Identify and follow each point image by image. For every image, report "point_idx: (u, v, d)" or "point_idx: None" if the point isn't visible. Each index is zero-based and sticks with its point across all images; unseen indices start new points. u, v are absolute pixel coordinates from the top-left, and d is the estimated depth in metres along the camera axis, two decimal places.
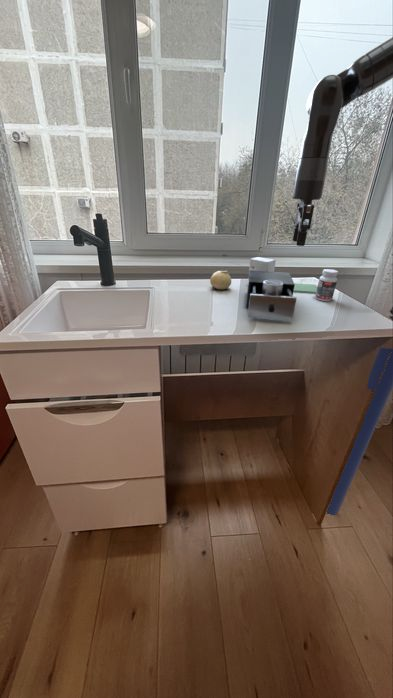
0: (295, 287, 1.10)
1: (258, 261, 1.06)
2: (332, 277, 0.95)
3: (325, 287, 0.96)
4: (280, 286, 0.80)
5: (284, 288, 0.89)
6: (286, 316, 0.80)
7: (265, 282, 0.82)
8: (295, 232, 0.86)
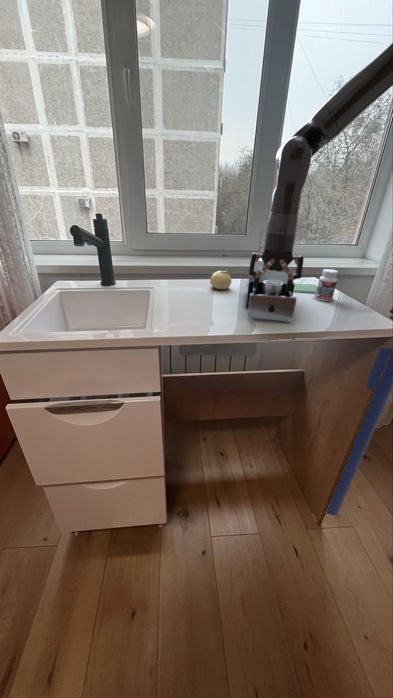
0: (295, 287, 1.10)
1: (258, 261, 1.06)
2: (332, 277, 0.95)
3: (325, 287, 0.96)
4: (280, 286, 0.80)
5: (284, 288, 0.89)
6: (286, 316, 0.80)
7: (265, 282, 0.82)
8: (286, 283, 0.82)
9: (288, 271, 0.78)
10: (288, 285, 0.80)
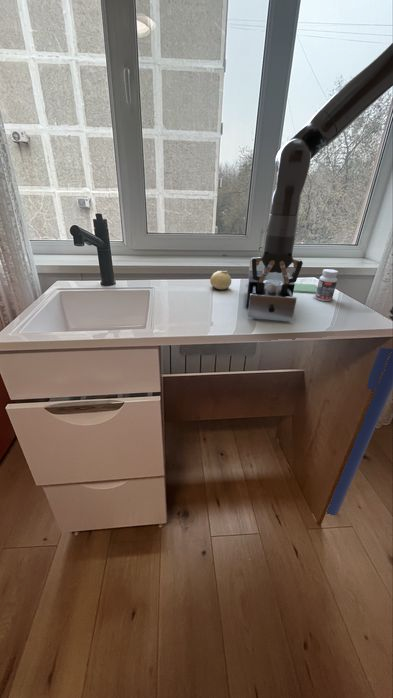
0: (295, 287, 1.10)
1: None
2: (332, 277, 0.95)
3: (325, 287, 0.96)
4: (280, 286, 0.80)
5: None
6: (286, 316, 0.80)
7: (265, 282, 0.81)
8: None
9: (285, 274, 0.79)
10: (283, 289, 0.81)
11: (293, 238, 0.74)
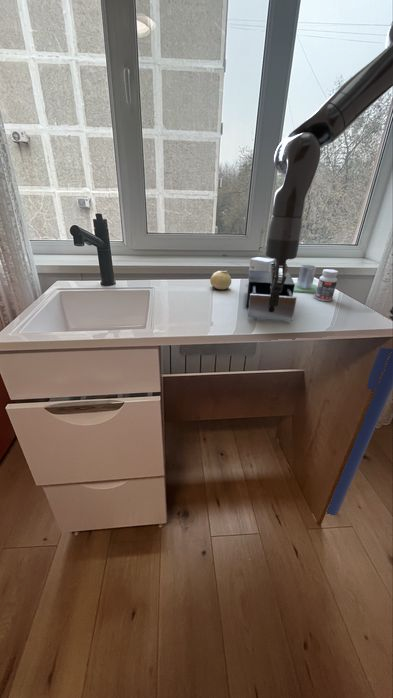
0: (295, 287, 1.10)
1: (258, 261, 1.06)
2: (332, 277, 0.95)
3: (325, 287, 0.96)
4: (314, 269, 1.05)
5: (284, 288, 0.89)
6: (286, 316, 0.80)
7: (302, 266, 1.07)
8: None
9: None
10: (278, 296, 0.76)
11: None
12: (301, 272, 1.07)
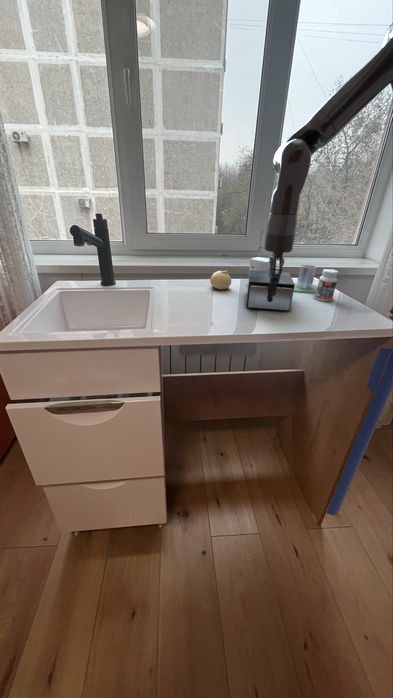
0: (295, 287, 1.10)
1: (258, 261, 1.06)
2: (332, 277, 0.95)
3: (325, 287, 0.96)
4: (314, 269, 1.05)
5: None
6: (283, 305, 0.87)
7: (302, 266, 1.07)
8: None
9: None
10: None
11: None
12: (301, 272, 1.07)
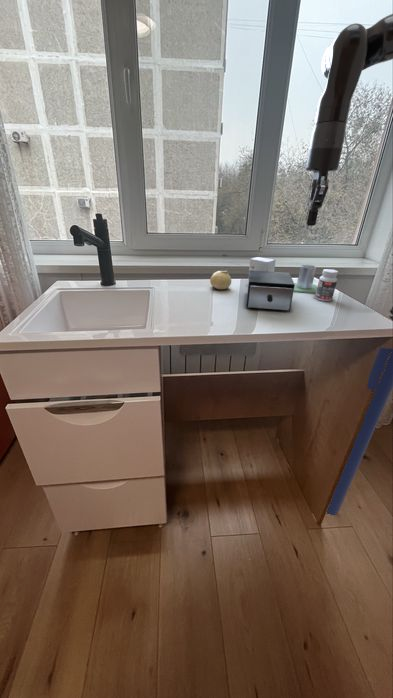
0: (295, 287, 1.10)
1: (258, 261, 1.06)
2: (332, 277, 0.95)
3: (325, 287, 0.96)
4: (314, 269, 1.05)
5: None
6: (283, 305, 0.87)
7: (302, 266, 1.07)
8: None
9: None
10: None
11: None
12: (301, 272, 1.07)
